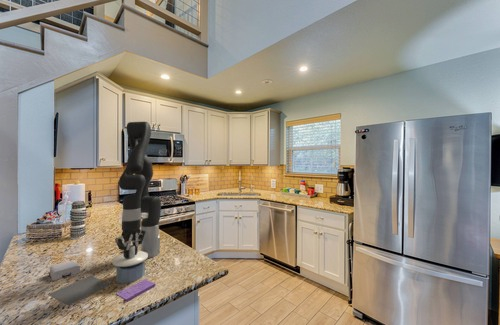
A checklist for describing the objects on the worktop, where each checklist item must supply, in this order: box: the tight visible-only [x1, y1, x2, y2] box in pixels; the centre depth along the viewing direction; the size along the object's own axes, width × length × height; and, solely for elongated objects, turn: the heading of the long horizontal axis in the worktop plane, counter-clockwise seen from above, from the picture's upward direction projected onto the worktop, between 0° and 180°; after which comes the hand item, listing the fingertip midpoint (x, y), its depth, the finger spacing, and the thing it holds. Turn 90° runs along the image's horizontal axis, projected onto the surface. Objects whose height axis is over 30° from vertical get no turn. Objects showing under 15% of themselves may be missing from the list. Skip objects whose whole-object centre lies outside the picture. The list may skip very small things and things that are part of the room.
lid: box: [111, 244, 149, 267], centre depth 95 cm, size 14×14×6 cm
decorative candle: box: [69, 200, 87, 240], centre depth 146 cm, size 9×9×25 cm
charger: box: [49, 259, 81, 282], centre depth 98 cm, size 5×9×15 cm
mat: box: [47, 275, 112, 306], centre depth 85 cm, size 15×15×1 cm
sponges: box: [115, 278, 156, 303], centre depth 85 cm, size 7×13×2 cm, turn 151°
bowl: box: [115, 260, 146, 284], centre depth 95 cm, size 11×11×6 cm
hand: (130, 256), depth 95 cm, fingers closed on lid, 3 cm apart
